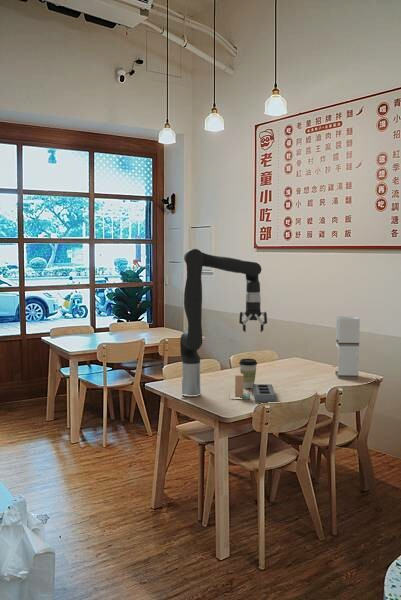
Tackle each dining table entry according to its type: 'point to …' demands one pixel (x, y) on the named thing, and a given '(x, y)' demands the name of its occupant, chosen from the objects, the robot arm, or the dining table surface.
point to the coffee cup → (248, 372)
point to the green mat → (245, 396)
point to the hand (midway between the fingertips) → (253, 331)
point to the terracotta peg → (238, 385)
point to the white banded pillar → (347, 346)
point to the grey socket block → (264, 393)
